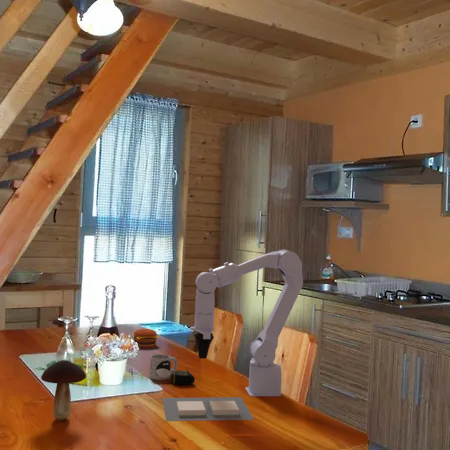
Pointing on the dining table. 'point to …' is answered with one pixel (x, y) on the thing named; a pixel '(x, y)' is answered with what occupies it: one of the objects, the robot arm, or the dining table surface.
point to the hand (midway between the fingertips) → (202, 358)
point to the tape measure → (182, 377)
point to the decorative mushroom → (63, 385)
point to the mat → (172, 412)
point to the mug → (161, 366)
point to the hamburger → (145, 338)
